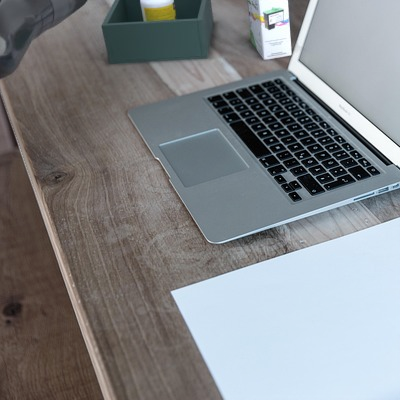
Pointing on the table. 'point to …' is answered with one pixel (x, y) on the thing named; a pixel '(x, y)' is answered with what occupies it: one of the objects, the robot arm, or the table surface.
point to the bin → (157, 33)
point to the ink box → (270, 27)
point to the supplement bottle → (158, 10)
